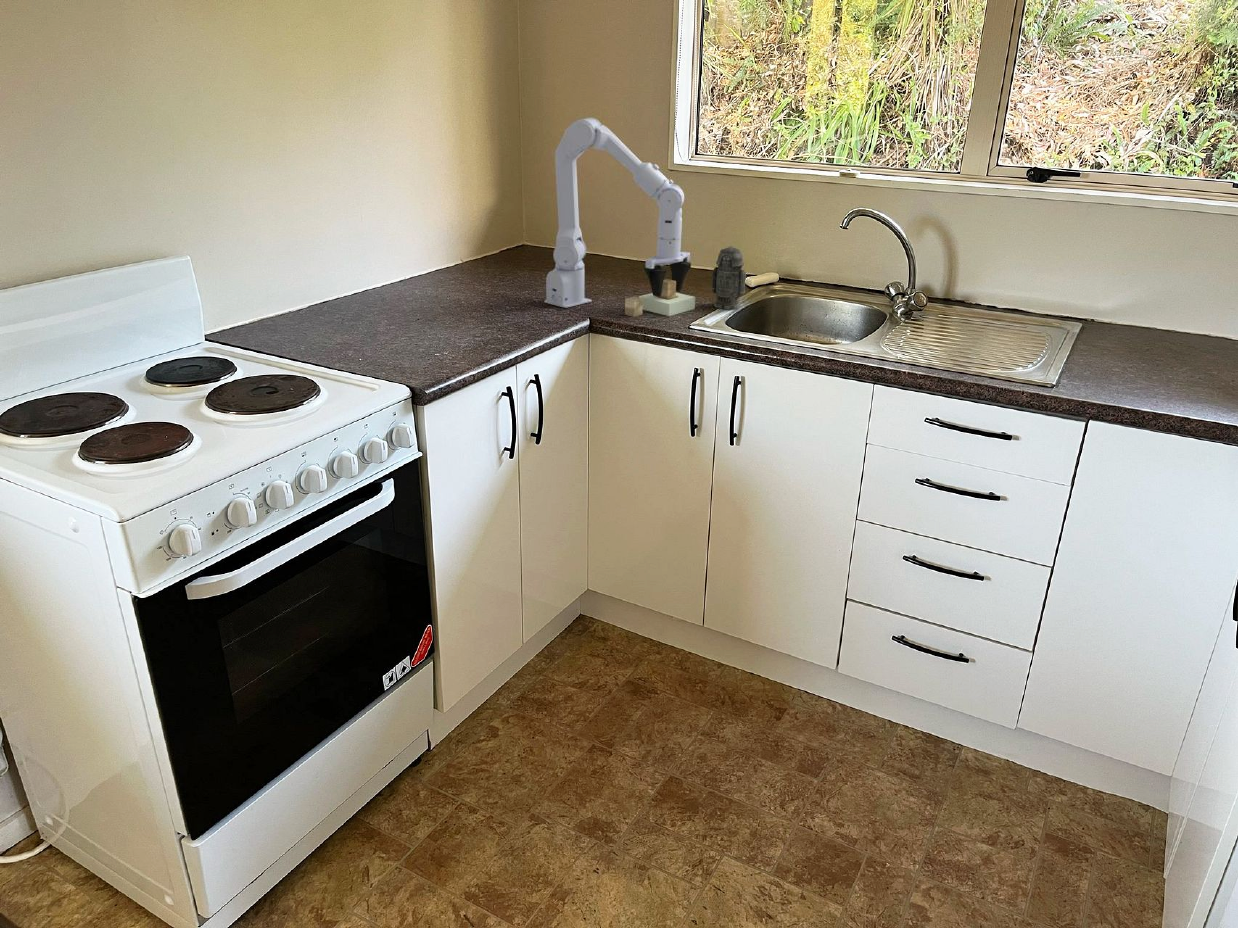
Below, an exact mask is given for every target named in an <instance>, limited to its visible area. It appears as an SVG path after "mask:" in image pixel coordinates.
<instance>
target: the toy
mask: <svg viewBox="0 0 1238 928" xmlns="http://www.w3.org/2000/svg"><path fill="white" fill-rule="evenodd" d="M715 264H716V265H717V266H715V267H714V268H713V270H712V283H711V292H712V293H713V294H715V295H716V300H715V301H714V305H713V306H714V307H715V308H717V309H724V310H737V309H739V308H741V297H743V295H744V294H745V293H746V290H745V288H746V278H747V273H746V271H745V270H744V269H742V268H743V266H744V265H745V263H744V259H743V254H742V251H741V250H740V249H738V248H736V247H733V246H732V245H731V246H728V247H725V248H722V249H720V252H719V254H718V255H717V260H716V262H715Z"/></svg>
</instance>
